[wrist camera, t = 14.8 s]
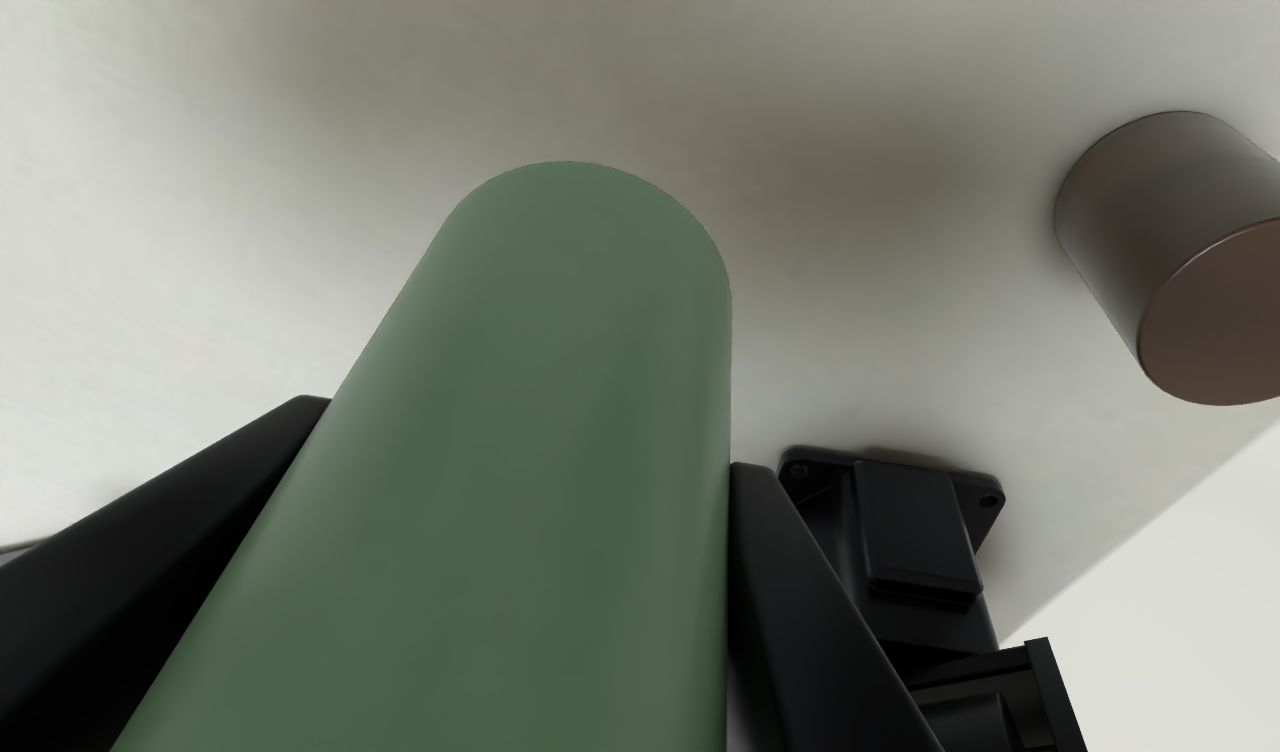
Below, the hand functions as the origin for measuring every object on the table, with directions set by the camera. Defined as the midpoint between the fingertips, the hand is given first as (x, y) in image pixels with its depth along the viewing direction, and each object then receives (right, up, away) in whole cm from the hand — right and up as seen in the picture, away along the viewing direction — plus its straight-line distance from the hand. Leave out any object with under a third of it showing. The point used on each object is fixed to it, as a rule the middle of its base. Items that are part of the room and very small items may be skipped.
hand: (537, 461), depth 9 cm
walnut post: (+13, +5, +10) cm, 17 cm away
